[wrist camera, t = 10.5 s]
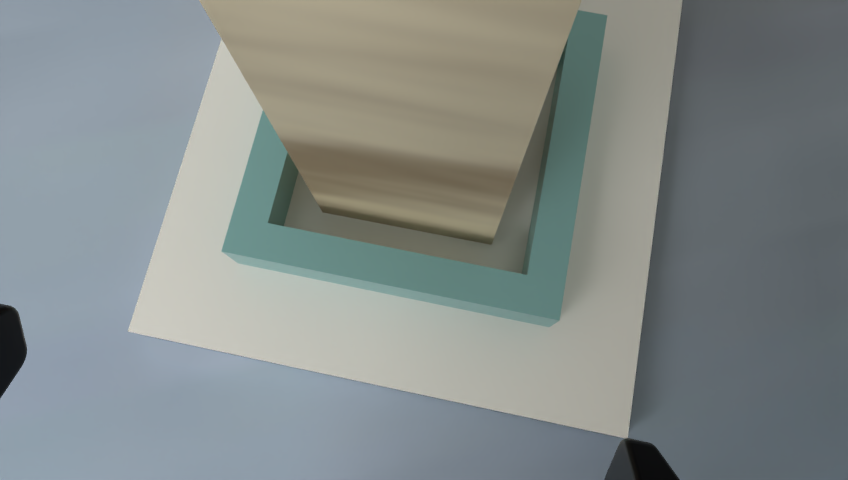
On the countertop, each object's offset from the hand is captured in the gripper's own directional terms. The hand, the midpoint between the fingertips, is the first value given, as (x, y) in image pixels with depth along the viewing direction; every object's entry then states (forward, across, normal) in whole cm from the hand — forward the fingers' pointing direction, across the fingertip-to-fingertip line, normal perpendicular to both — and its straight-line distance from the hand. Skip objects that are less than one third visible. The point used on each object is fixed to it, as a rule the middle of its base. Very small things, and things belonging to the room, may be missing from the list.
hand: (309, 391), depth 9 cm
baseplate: (+12, 0, +1) cm, 12 cm away
